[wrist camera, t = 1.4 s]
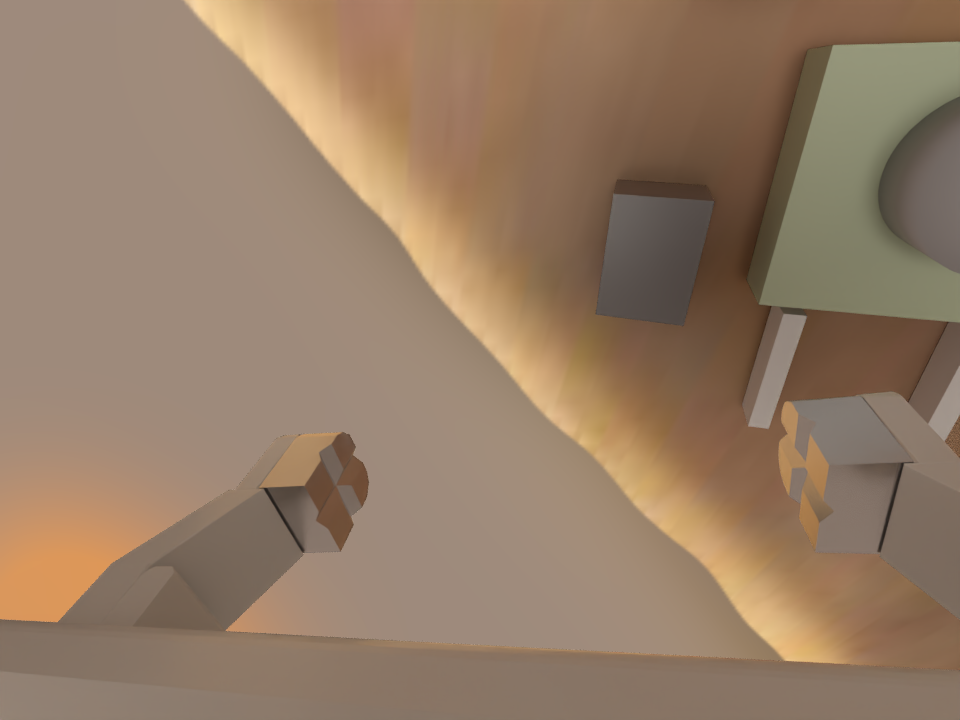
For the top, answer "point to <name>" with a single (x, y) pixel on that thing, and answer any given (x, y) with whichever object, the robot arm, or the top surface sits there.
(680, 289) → the dark grey box
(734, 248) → the top surface
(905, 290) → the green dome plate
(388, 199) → the top surface
